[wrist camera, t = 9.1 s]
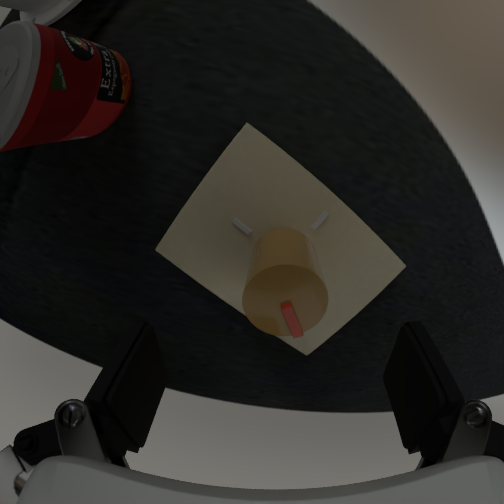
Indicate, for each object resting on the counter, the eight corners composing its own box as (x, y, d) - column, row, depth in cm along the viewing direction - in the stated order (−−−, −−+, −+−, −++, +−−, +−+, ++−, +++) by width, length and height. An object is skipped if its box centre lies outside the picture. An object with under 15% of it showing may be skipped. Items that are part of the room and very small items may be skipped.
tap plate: (164, 240, 22) (153, 250, 20) (249, 124, 18) (246, 122, 16) (305, 341, 24) (307, 357, 22) (397, 255, 20) (407, 267, 18)
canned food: (151, 95, 17) (47, 74, 7) (82, 157, 19) (-21, 185, 9) (113, 33, 15) (21, -4, 5) (52, 95, 17) (-43, 97, 7)
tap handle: (241, 241, 19) (226, 283, 13) (303, 218, 18) (314, 253, 12) (265, 294, 20) (261, 348, 15) (324, 275, 19) (338, 325, 14)
